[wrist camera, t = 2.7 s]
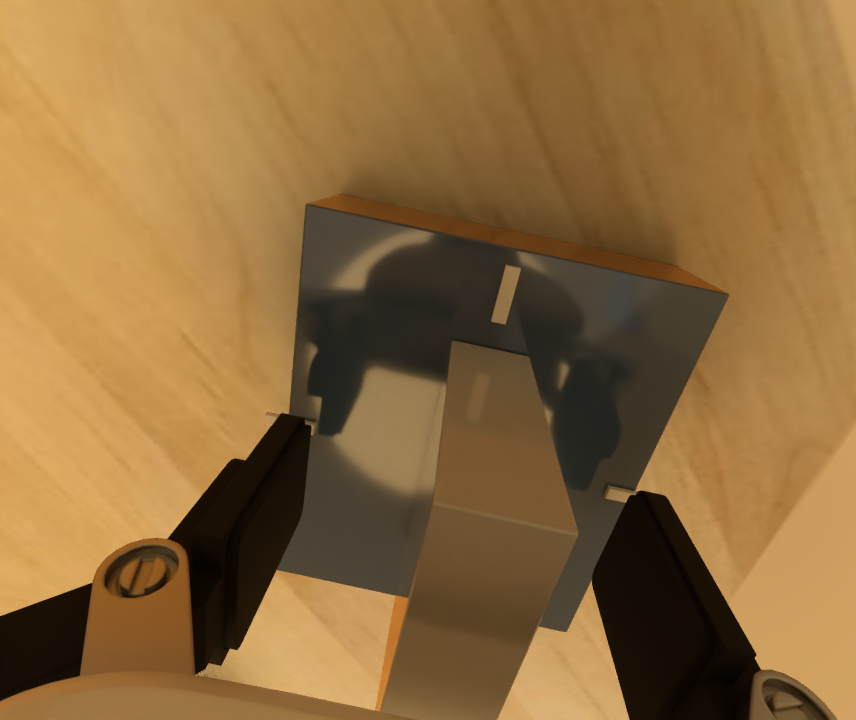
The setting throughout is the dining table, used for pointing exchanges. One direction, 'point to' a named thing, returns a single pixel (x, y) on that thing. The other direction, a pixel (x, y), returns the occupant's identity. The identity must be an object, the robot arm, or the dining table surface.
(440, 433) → the tap handle
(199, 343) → the dining table surface
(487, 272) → the rotary switch base
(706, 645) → the robot arm
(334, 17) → the dining table surface
